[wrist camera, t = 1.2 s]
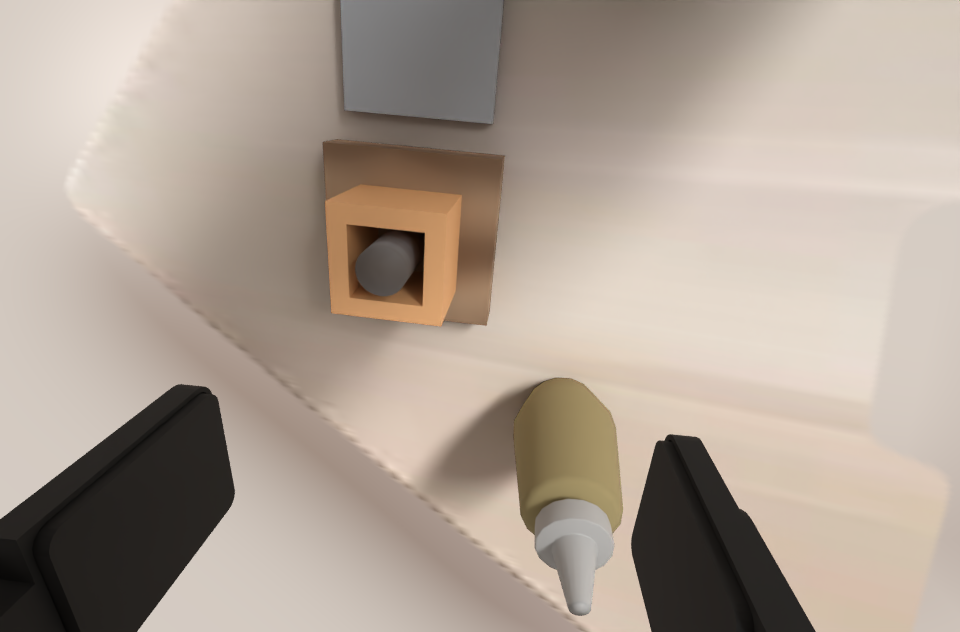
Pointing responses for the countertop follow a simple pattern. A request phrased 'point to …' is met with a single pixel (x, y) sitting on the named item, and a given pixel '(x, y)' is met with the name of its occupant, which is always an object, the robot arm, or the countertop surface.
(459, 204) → the collar
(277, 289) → the countertop surface
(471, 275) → the stand
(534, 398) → the squeeze bottle
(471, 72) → the pad
